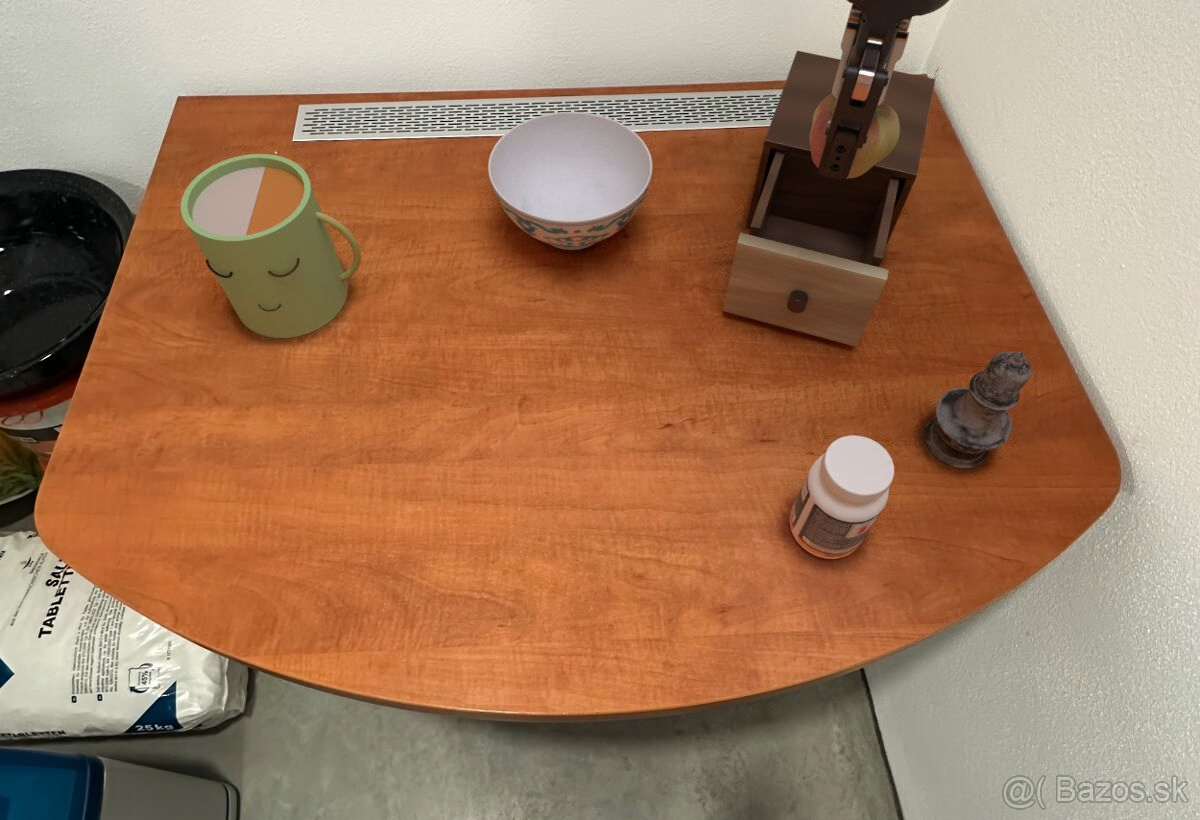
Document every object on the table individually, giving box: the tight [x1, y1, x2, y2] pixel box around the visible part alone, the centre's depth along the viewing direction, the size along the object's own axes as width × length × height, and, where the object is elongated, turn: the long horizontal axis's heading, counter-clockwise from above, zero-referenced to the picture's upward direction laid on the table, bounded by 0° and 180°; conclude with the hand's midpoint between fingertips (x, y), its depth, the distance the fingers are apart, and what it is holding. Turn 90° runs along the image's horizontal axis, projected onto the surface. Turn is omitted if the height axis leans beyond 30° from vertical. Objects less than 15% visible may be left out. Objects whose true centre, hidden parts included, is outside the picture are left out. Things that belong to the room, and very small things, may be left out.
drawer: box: [722, 150, 900, 348], centre depth 71 cm, size 15×12×9 cm
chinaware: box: [487, 111, 653, 251], centre depth 76 cm, size 15×15×8 cm
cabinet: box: [745, 50, 936, 249], centre depth 78 cm, size 14×13×10 cm
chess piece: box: [923, 350, 1033, 469], centre depth 61 cm, size 6×6×12 cm
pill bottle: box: [789, 434, 895, 560], centre depth 58 cm, size 6×6×10 cm
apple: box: [809, 93, 900, 178], centre depth 59 cm, size 6×8×6 cm
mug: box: [180, 153, 362, 339], centre depth 69 cm, size 13×10×12 cm
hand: (839, 145), depth 60 cm, fingers closed on apple, 6 cm apart
